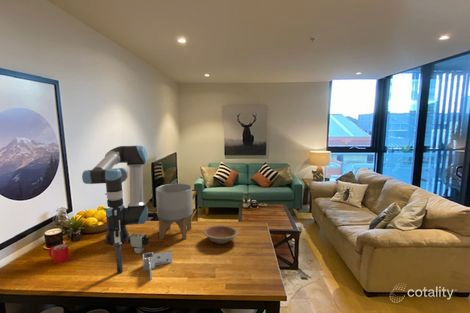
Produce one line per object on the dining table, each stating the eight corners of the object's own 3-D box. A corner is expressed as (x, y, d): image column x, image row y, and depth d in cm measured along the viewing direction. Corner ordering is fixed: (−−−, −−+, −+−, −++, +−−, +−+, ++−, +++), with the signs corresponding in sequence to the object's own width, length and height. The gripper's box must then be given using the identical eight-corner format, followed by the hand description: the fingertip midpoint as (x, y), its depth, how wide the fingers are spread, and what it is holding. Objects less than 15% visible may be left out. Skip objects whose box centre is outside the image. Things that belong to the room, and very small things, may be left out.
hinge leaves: (143, 265, 149) (142, 253, 147) (171, 259, 155) (170, 248, 154) (145, 281, 134) (144, 268, 133) (176, 274, 140) (175, 262, 139)
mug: (53, 255, 160) (52, 243, 159) (72, 256, 159) (71, 243, 158) (43, 262, 152) (42, 249, 151) (63, 263, 151) (61, 250, 150)
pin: (116, 271, 143) (113, 241, 141) (123, 269, 145) (121, 240, 142) (115, 275, 140) (113, 245, 137) (123, 273, 141) (121, 243, 139)
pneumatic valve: (145, 254, 160) (144, 236, 158) (128, 253, 162) (127, 234, 160) (150, 250, 165) (149, 232, 163) (133, 248, 168) (132, 231, 166)
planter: (181, 223, 207) (180, 181, 201) (200, 234, 188) (199, 188, 183) (152, 233, 190) (149, 187, 185) (168, 245, 172) (166, 195, 167)
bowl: (245, 243, 174) (245, 232, 173) (214, 253, 161) (214, 241, 160) (226, 230, 194) (226, 220, 192) (197, 239, 180) (197, 228, 179)
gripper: (108, 192, 146) (110, 228, 149) (105, 206, 123) (109, 248, 126) (122, 191, 149) (125, 226, 152) (123, 204, 126) (125, 245, 129)
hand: (117, 236), depth 139 cm, fingers open, 13 cm apart
